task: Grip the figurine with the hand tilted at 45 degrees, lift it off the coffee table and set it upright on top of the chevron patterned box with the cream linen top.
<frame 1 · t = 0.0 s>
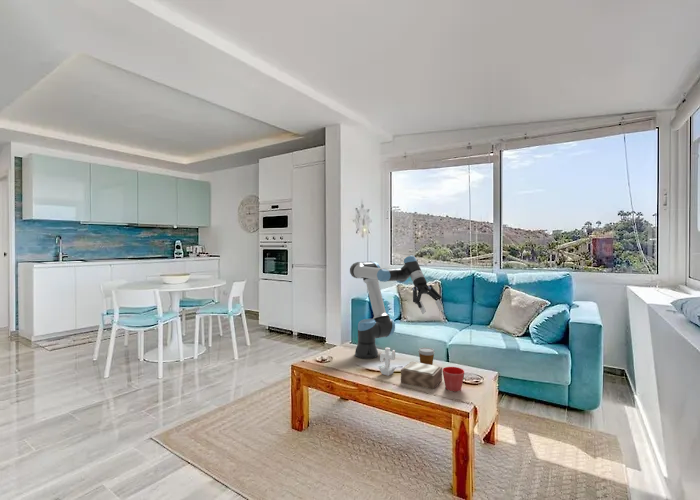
hand: (433, 311, 211), 36 cm above the table, tool tilted 35°, fingers open, 13 cm apart
flower pot: (453, 389, 191), on the table
disposable coffee cup: (426, 370, 219), on the table
chevron patterned box: (421, 381, 201), on the table
figurine: (387, 374, 212), on the table
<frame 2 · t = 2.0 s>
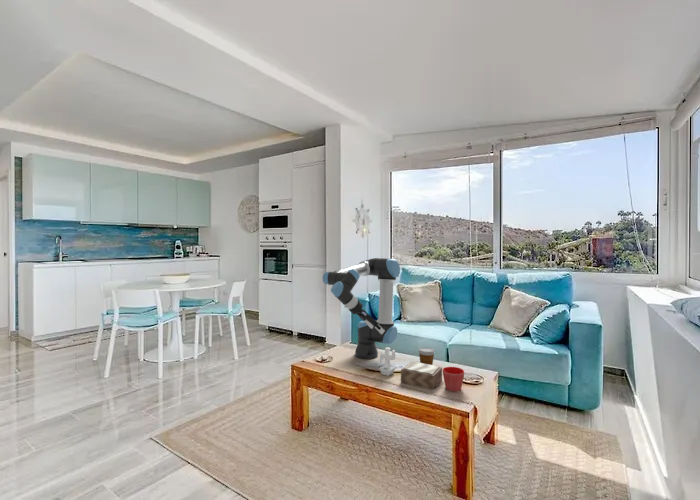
hand: (378, 329, 210), 26 cm above the table, tool tilted 45°, fingers open, 13 cm apart
nothing on the table moved.
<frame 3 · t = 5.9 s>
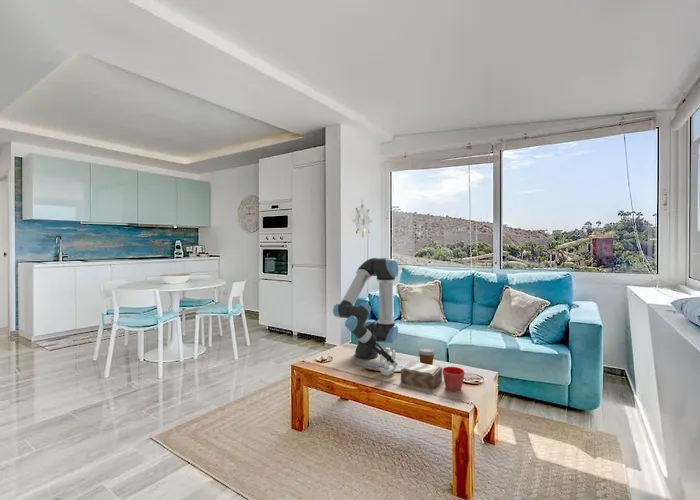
hand: (392, 363, 213), 6 cm above the table, tool tilted 45°, fingers closed on figurine, 8 cm apart
figurine: (387, 374, 212), on the table, touching gripper
everything else where it was.
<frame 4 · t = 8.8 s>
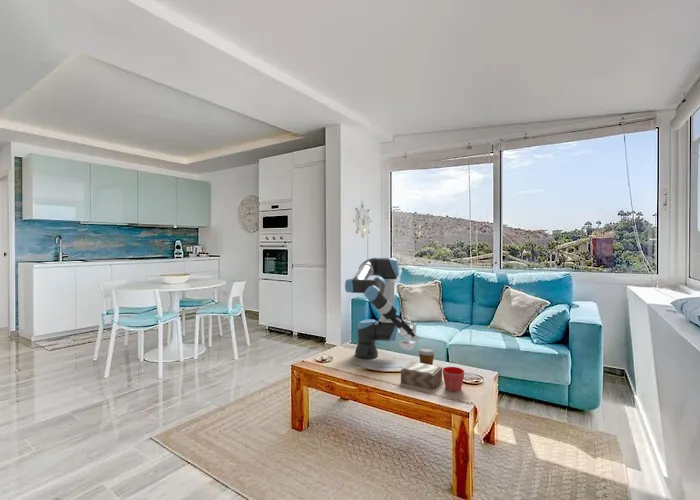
hand: (413, 337, 203), 23 cm above the table, tool tilted 45°, fingers closed on figurine, 8 cm apart
figurine: (407, 348, 202), point 17 cm above the table, touching gripper
everything else where it was.
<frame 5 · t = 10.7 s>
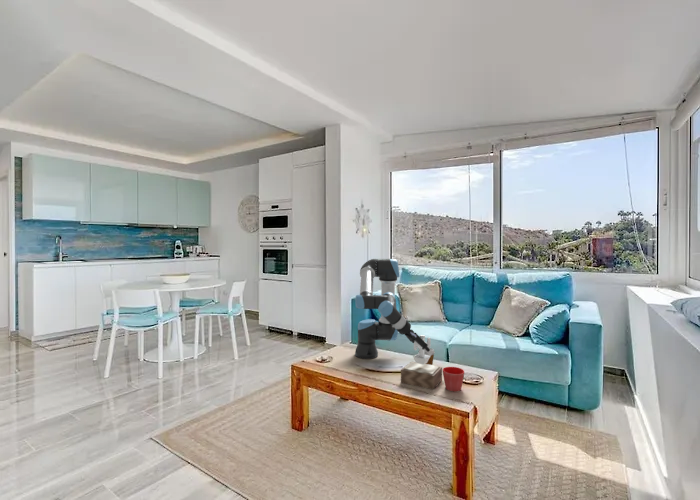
hand: (427, 351, 202), 16 cm above the table, tool tilted 45°, fingers closed on figurine, 8 cm apart
figurine: (421, 363, 200), point 10 cm above the table, touching gripper
everything else where it was.
when the fingers open (15 cm above the table, at t = 11.8 s): figurine drops 1 cm, resting on chevron patterned box.
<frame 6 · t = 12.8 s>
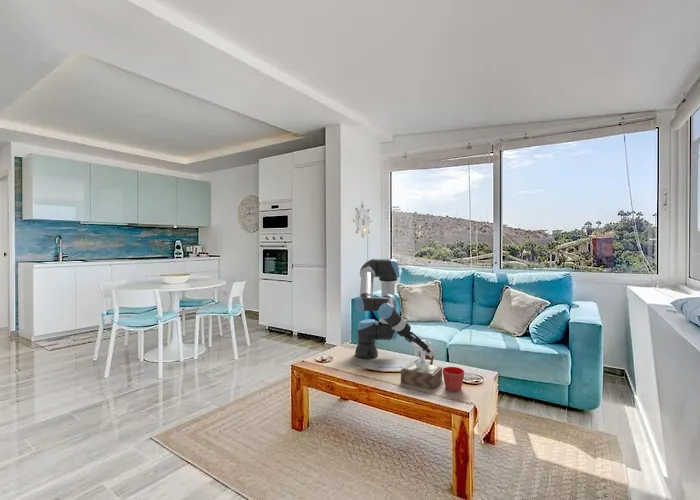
hand: (425, 352, 201), 16 cm above the table, tool tilted 45°, fingers open, 13 cm apart
figurine: (422, 368, 200), point 7 cm above the table, touching chevron patterned box
everything else where it was.
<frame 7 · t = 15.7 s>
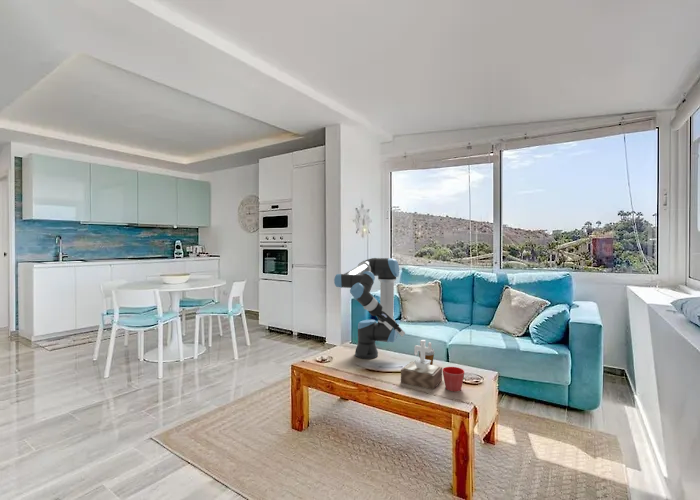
hand: (397, 331, 205), 26 cm above the table, tool tilted 45°, fingers open, 13 cm apart
nothing on the table moved.
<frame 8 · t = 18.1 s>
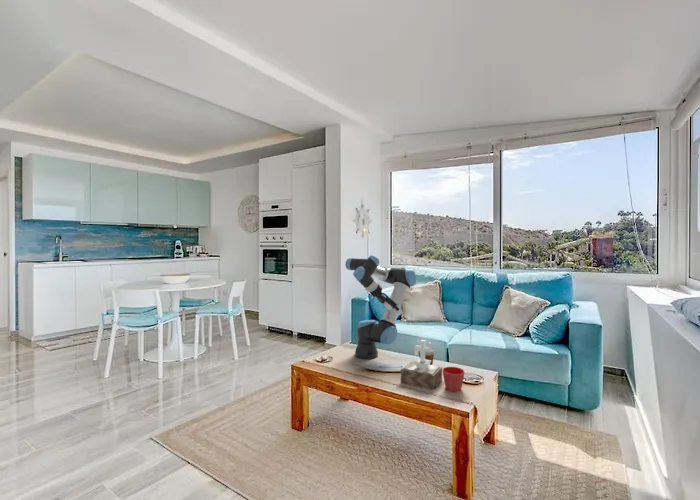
hand: (396, 311, 227), 33 cm above the table, tool tilted 45°, fingers open, 13 cm apart
nothing on the table moved.
at the end: figurine inside the target area on the chevron patterned box (0.7 cm from its centre), point 7.4 cm above the chevron patterned box's base; figurine tilted 0°; the gripper is holding nothing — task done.
